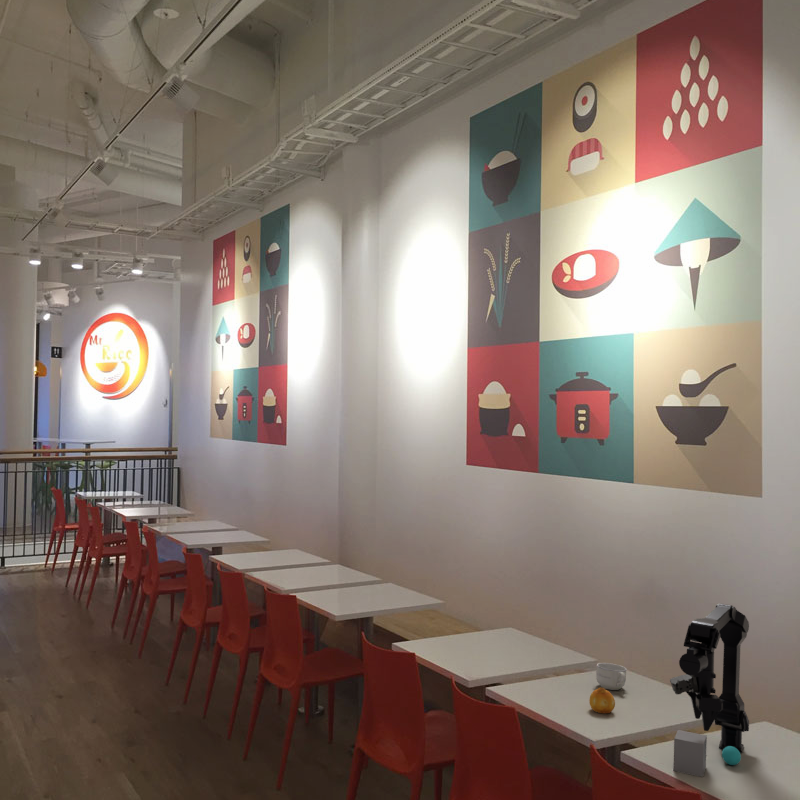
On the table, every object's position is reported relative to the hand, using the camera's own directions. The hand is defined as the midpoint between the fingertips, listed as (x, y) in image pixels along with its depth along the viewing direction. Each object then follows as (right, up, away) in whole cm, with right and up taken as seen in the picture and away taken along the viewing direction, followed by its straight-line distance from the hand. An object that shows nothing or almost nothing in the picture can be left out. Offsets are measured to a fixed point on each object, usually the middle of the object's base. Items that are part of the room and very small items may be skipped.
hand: (701, 724), depth 219 cm
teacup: (-5, -17, +72) cm, 74 cm away
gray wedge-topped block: (-3, -13, +2) cm, 14 cm away
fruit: (-16, -15, +47) cm, 51 cm away
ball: (+11, -12, +6) cm, 17 cm away
